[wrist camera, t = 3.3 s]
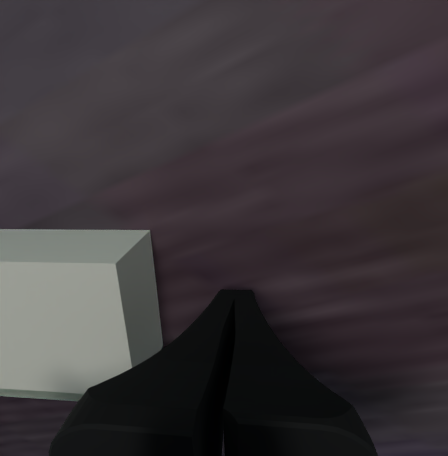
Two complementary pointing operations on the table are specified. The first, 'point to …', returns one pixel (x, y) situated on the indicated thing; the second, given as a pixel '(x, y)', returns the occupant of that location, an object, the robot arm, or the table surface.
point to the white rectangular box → (74, 309)
